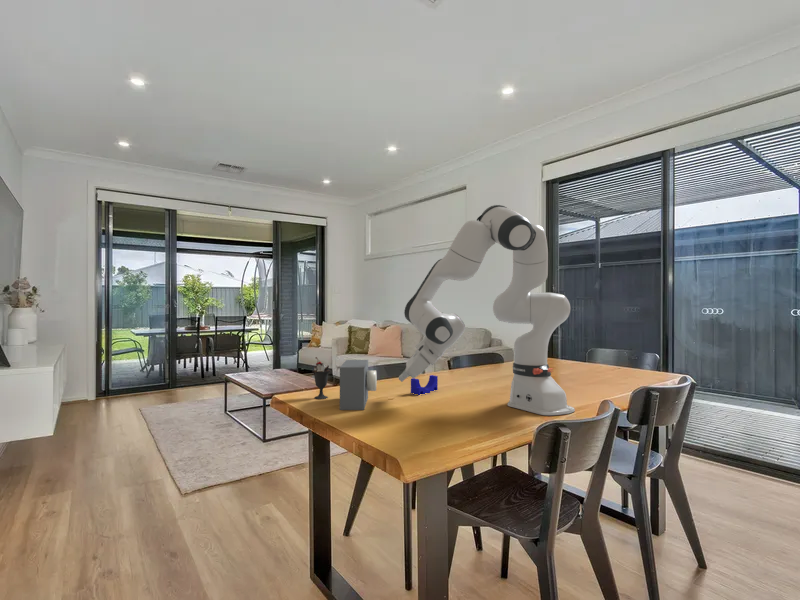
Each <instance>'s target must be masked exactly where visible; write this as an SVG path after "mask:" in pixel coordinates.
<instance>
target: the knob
mask: <svg viewBox="0 0 800 600" xmlns="http://www.w3.org/2000/svg"><path fill="white" fill-rule="evenodd" d="M377 381H378V380H377V370H373V369H371V370H370V369H368V371H367V377H366V384H367V391H368V392H370V391H371V392H373V391H374V392H377V384H378V383H377Z"/></svg>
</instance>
